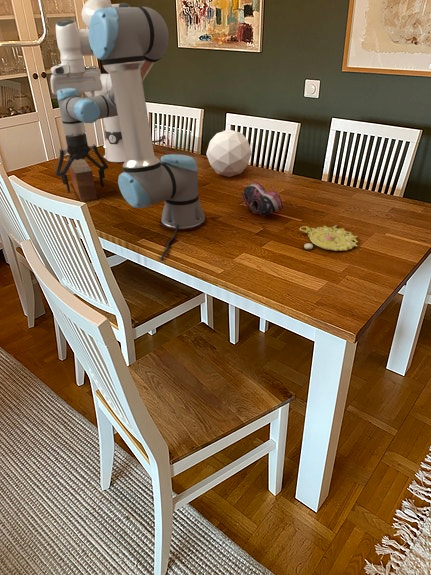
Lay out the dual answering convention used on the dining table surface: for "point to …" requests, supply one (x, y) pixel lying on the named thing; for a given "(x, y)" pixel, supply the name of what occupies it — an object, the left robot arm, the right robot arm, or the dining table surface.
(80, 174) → the box
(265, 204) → the athletic shoe
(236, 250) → the dining table surface
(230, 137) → the sphere
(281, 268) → the dining table surface
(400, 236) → the dining table surface
